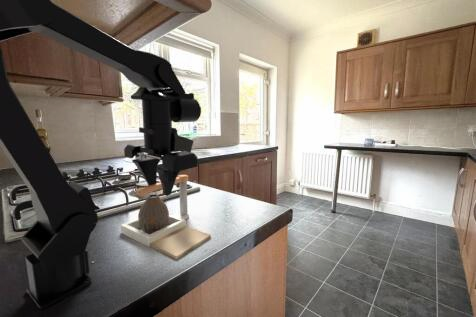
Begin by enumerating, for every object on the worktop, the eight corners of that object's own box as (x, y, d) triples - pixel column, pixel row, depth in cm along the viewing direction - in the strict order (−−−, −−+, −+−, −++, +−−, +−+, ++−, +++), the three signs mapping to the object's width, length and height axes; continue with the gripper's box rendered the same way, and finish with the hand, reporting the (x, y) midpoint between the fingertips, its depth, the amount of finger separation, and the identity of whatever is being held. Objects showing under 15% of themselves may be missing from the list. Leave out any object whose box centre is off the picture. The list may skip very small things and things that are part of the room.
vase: (169, 235, 51) (168, 198, 49) (137, 239, 48) (135, 201, 47) (169, 222, 57) (168, 190, 56) (140, 225, 55) (138, 192, 54)
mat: (176, 259, 41) (176, 256, 41) (144, 243, 47) (144, 241, 47) (210, 237, 50) (210, 234, 50) (180, 226, 55) (180, 223, 55)
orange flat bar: (142, 196, 46) (142, 190, 45) (133, 194, 47) (132, 188, 47) (190, 180, 60) (190, 175, 60) (182, 178, 61) (182, 174, 61)
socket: (148, 246, 45) (146, 200, 44) (121, 232, 51) (118, 191, 50) (200, 220, 59) (199, 183, 57) (173, 211, 64) (172, 177, 63)
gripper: (216, 125, 47) (214, 192, 51) (163, 119, 58) (165, 175, 61) (174, 127, 38) (176, 208, 42) (120, 120, 49) (125, 186, 52)
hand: (160, 192), depth 49 cm, fingers open, 5 cm apart
